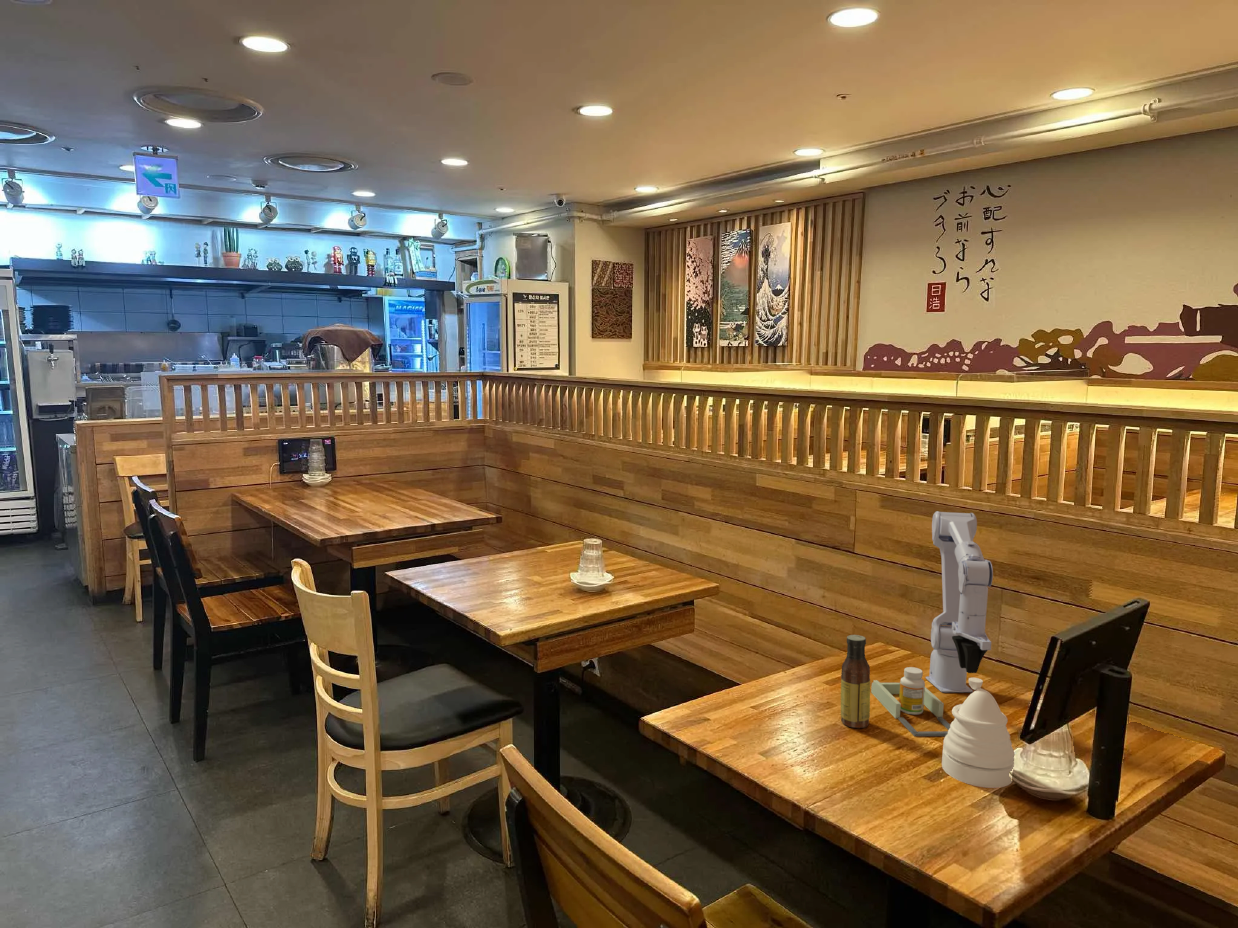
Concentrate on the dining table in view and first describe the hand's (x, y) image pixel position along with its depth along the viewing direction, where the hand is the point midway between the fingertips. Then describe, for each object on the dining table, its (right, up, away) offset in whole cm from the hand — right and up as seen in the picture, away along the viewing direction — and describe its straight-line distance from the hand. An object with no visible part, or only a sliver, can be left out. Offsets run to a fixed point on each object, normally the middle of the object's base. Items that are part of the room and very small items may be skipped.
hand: (968, 670), depth 187 cm
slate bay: (-12, -11, -6) cm, 17 cm away
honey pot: (-10, -14, -26) cm, 31 cm away
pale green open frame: (-12, -10, +5) cm, 17 cm away
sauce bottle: (-28, -11, -5) cm, 30 cm away
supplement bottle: (-12, -10, +2) cm, 16 cm away
